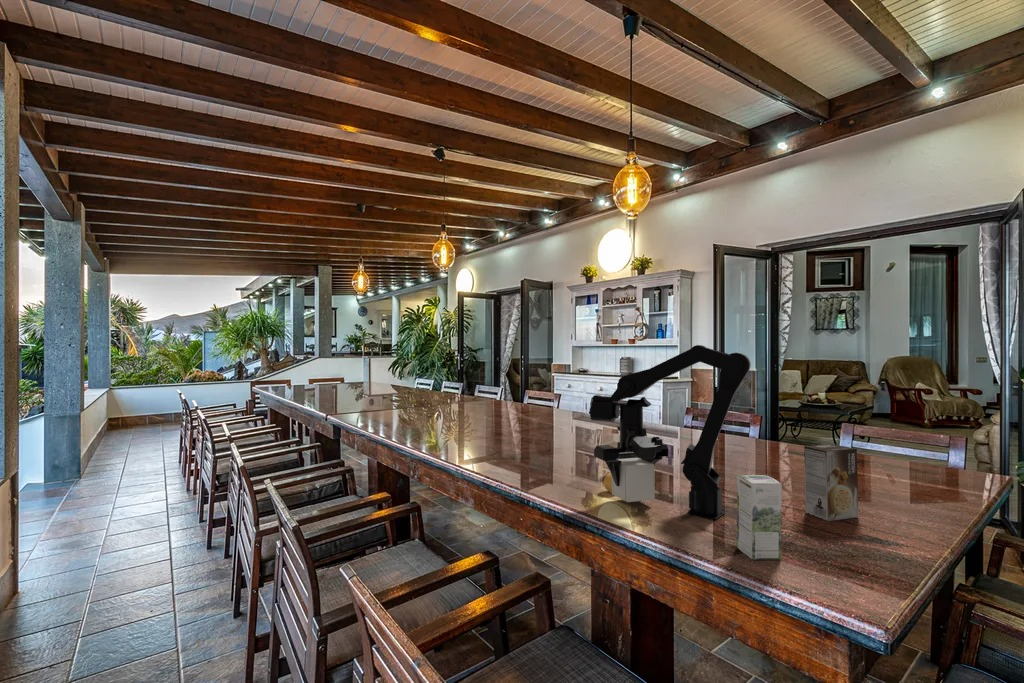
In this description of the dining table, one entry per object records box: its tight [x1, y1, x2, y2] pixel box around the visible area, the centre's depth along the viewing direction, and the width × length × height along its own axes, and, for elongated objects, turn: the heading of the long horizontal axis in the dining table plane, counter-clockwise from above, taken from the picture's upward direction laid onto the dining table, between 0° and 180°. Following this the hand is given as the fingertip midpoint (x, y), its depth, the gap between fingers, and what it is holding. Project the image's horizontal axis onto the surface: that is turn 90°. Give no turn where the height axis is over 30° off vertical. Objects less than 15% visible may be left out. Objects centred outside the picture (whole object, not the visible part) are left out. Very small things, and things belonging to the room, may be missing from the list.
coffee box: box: [803, 443, 859, 522], centre depth 114 cm, size 9×6×16 cm
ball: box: [603, 473, 612, 493], centre depth 132 cm, size 5×5×5 cm
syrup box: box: [736, 474, 783, 561], centre depth 92 cm, size 6×6×14 cm
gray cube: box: [611, 458, 656, 503], centre depth 123 cm, size 8×8×9 cm
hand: (631, 484), depth 123 cm, fingers closed on gray cube, 8 cm apart
